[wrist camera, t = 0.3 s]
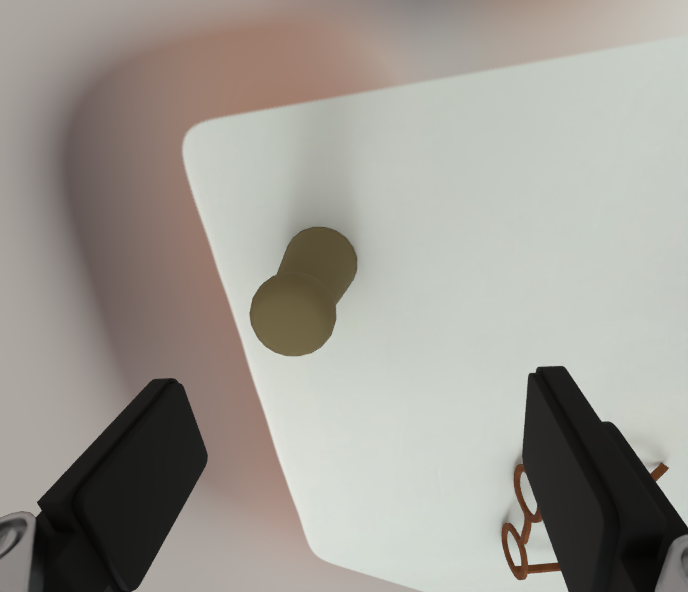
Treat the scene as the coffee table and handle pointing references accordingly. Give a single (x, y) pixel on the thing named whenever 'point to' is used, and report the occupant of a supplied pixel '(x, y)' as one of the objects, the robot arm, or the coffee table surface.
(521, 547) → the glasses
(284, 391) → the coffee table surface
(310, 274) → the tan pawn
